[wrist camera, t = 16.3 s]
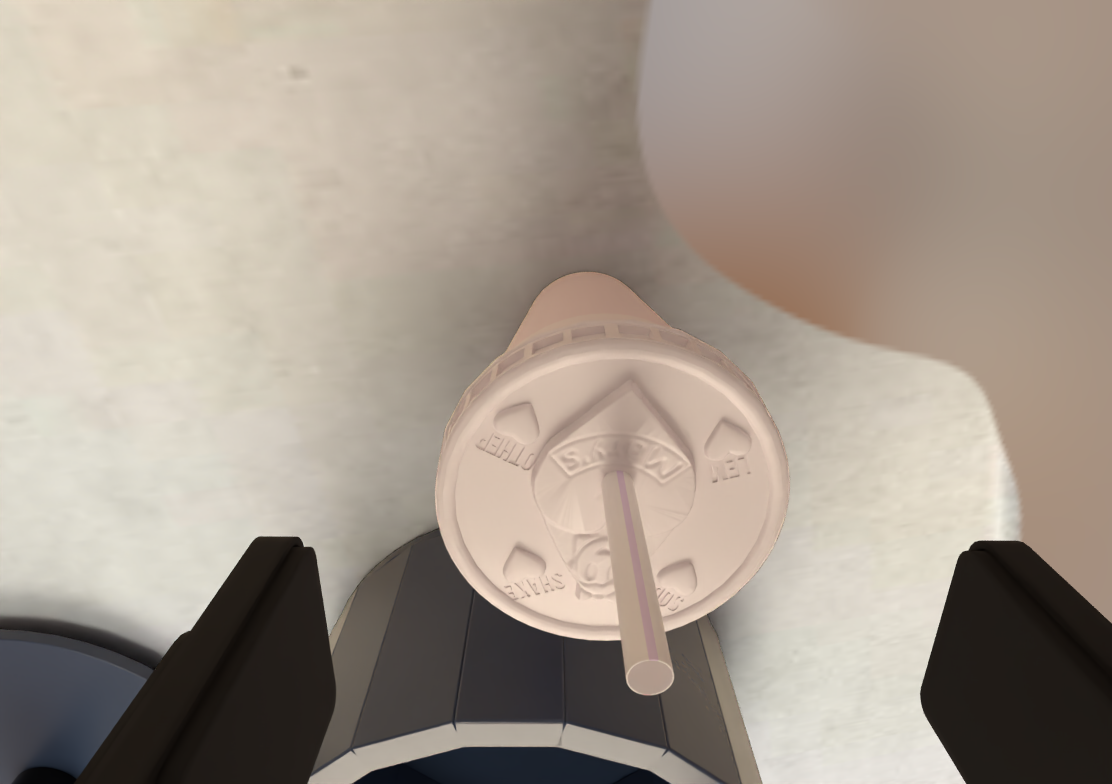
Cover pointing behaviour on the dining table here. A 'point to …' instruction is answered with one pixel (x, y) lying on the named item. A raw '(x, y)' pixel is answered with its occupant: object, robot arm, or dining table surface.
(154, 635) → the dining table surface
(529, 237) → the dining table surface
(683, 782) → the pot
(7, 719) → the pot lid
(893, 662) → the dining table surface
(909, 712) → the dining table surface
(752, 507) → the smoothie
